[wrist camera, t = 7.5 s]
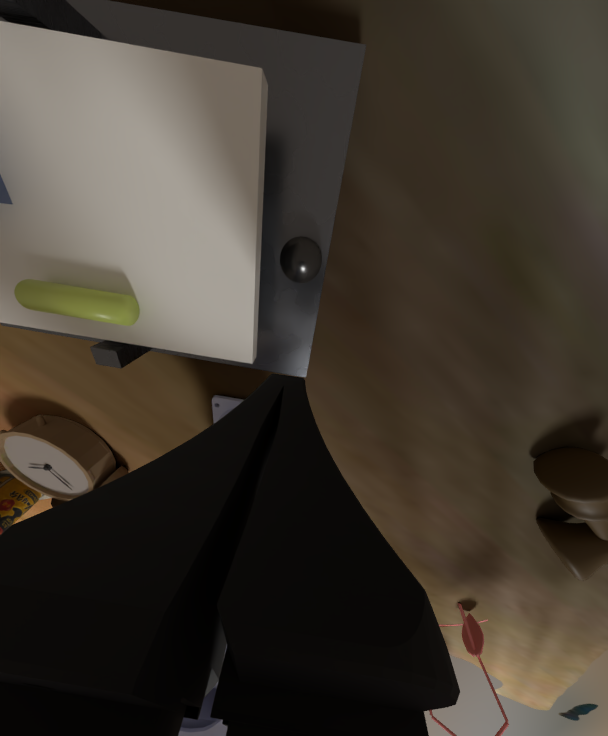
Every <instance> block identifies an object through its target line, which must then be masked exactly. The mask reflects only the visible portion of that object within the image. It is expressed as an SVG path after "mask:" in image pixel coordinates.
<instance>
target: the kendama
mask: <svg viewBox="0 0 608 736" xmlns="http://www.w3.org/2000/svg"><path fill="white" fill-rule="evenodd" d="M534 473H535V474H536V476H537V478H538V479H539V481H540V483H541V484H543V485H544V486H545V487H546V488H547V489H548V490H549V491H550V492H551V495H552V497H553V498H554V500H555V502H556V503H557V504H558V505H559V506H560V507H561V508H562V509H563V510H564V511H565V512H567V513H569V514H571V515H572V516H574V517H576V518H578V519H582V520H584V521H585V522H586V523H566V522H560V521H555V520H550V519H544V518H539V519H537V524H538V526H539V528H540V530H541V532H542V533H543V535H544V537H545V538H546V540H547V541H548V543H549V544H550V546H551V547H552V549H553V550H554V551H555V553H556V554H557V555H558V557H559V558H560V560H561V561H562V562H563V563H564V565H565V566H566V567H567V568H568V570H569V571H570V572H571V573H572V574H573V575H574V576H575V577H576V578H577V579H579V580H582V581H584V580H587V579H588V578H589V577H591V576H592V575H593V574H594V573H595V572H596V571H597V570H598V569H599V568H601V567H602V566H603V565H606V564H608V460H607V459H605V458H604V457H602V456H600V455H599V454H597V453H594V452H591V451H588V450H585V449H582V448H571V447H564V448H559V449H554V450H551V451H548V452H546V453H543V454H541V455H539V456H538V457H537V458H536V460H535V461H534Z"/></svg>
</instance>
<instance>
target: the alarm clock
mask: <svg viewBox="0 0 608 736" xmlns="http://www.w3.org/2000/svg"><path fill="white" fill-rule="evenodd" d="M0 462H1V463H2V464H3V466H4V467H5V468H6V469H7V470H8V471H9V472H10V473H11V474H12V475H13V476H14V477H16V478H17V479H18V480H19V481H21V482H22V483H24V484H25V485H27V486H28V487H30V488H32V489H34V490H36V491H38V492H40V493H42V494H44V495H46V496H49V497H52V501H51V505H52V507H56V506H58V505H60V504H63V503H65V502H67V501H69V500H72V499H74V498H76V497H79V496H81V495H83V494H86V493H88V492H90V491H92V490H94V489H97V488H99V487H101V486H103V485H105V484H107V483H109V482H112V481H114V480H116V479H118V478H120V477H122V476H124V475H126V474H128V471H127V469H126V468H125V467H123V466H121V467H120V468H118V469H117V470H116V461H115V458H114V456H113V454H112V452H111V450H110V449H109V447H108V446H107V445H106V444H105V442H104V441H103V440H102V439H101V438H100V437H98V436H97V435H96V434H95V433H94V432H92V431H91V430H90V429H88V428H87V427H85V426H83V425H81V424H79V423H77V422H75V421H72V420H69V419H66V418H62V417H59V416H50V415H41V414H40V415H37V416H36V417H33V418H31V419H30V420H28V421H26V422H24V423H22V424H20V425H18V426H16V427H14V428H13V429H11V430H9V431H6V430H1V431H0ZM115 470H116V471H115Z"/></svg>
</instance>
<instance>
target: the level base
mask: <svg viewBox="0 0 608 736" xmlns="http://www.w3.org/2000/svg"><path fill="white" fill-rule="evenodd" d="M0 21H4V22H9V23H15V24H20V25H26V26H31V27H37V28H43V29H48V30H54V31H59V32H65V33H70V34H76V35H81V36H87V37H92V38H98V39H103V40H109V41H115V42H120V43H126V44H131V45H137V46H142V47H148V48H153V49H159V50H164V51H170V52H175V53H181V54H187V55H192V56H198V57H203V58H209V59H214V60H220V61H225V62H231V63H236V64H242V65H247V66H253V67H259V68H262V70H263V72H264V75H265V78H266V81H267V84H268V99H267V122H266V145H265V169H264V192H263V215H262V239H261V262H260V285H259V309H258V332H257V355H256V358H255V360H254V362H253V364H250V363H244V362H238V361H232V360H226V359H220V358H214V357H207V356H201V355H195V354H189V353H183V352H177V351H171V350H165V349H159V348H153V347H147V346H141V345H135V344H128V343H122V342H116V341H110V340H104V339H98V338H92V337H86V336H80V335H74V334H68V333H62V332H55V331H49V330H43V329H37V328H31V327H25V326H19V325H13V324H7V323H1V322H0V323H1V325H3V326H8V327H14V328H20V329H26V330H32V331H38V332H43V333H49V334H55V335H61V336H67V337H73V338H78V339H84V340H90V341H96V342H100V343H98V344H96V345H94V346H92V347H90V348H91V351H92V354H93V356H94V359H95V361H96V364H99V365H105V366H110V367H116V368H123V367H124V366H126V365H128V364H129V363H131V362H132V361H134V360H136V359H137V358H139V357H140V356H142V355H143V354H145V353H147V352H148V351H154V352H160V353H166V354H172V355H178V356H183V357H189V358H195V359H201V360H207V361H212V362H218V363H224V364H230V365H236V366H242V367H247V368H253V369H259V370H265V371H271V372H277V373H282V374H288V375H294V376H300V377H306V374H307V368H308V363H309V357H310V352H311V346H312V341H313V335H314V330H315V324H316V319H317V313H318V308H319V302H320V297H321V291H322V286H323V280H324V275H325V269H326V264H327V258H328V253H329V247H330V242H331V236H332V231H333V225H334V220H335V214H336V208H337V203H338V197H339V192H340V186H341V181H342V175H343V170H344V164H345V159H346V153H347V148H348V142H349V137H350V131H351V126H352V120H353V115H354V109H355V104H356V98H357V93H358V87H359V82H360V76H361V71H362V65H363V60H364V54H365V49H366V45H364V44H359V43H353V42H347V41H341V40H335V39H330V38H324V37H318V36H312V35H306V34H301V33H295V32H289V31H283V30H277V29H272V28H266V27H260V26H254V25H248V24H243V23H237V22H231V21H225V20H219V19H214V18H208V17H202V16H196V15H190V14H185V13H179V12H173V11H167V10H161V9H156V8H150V7H144V6H138V5H132V4H127V3H121V2H115V1H109V0H0Z"/></svg>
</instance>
